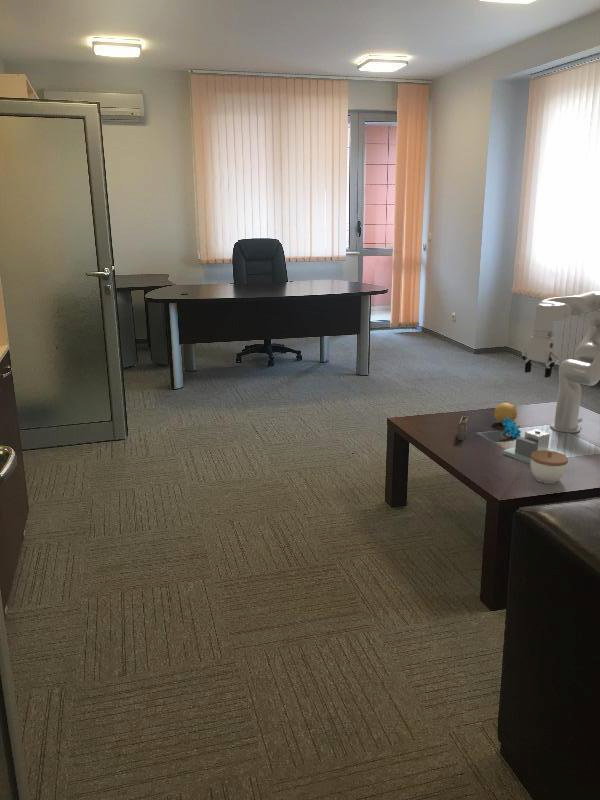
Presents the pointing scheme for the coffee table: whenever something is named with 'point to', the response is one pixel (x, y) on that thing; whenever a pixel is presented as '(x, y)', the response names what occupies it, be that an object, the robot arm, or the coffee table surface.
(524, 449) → the plate with grey stand
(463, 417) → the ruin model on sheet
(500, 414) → the stress ball
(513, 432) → the gear
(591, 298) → the robot arm
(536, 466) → the lidded bowl
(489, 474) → the coffee table surface
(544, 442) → the grey box with knob
